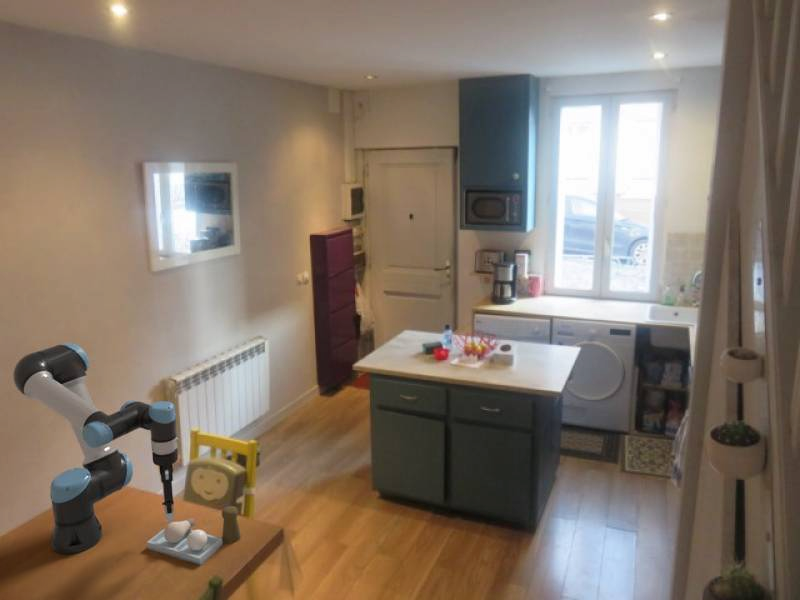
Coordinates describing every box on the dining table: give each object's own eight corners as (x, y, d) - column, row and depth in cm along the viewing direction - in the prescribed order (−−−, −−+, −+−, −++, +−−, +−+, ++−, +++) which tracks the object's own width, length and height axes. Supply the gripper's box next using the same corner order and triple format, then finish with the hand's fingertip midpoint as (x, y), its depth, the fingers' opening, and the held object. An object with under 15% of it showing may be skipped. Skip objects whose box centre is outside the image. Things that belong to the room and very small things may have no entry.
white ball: (183, 552, 199) (181, 534, 198) (196, 540, 205) (195, 523, 203) (199, 557, 197) (197, 539, 195) (212, 545, 202) (211, 528, 201)
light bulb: (188, 508, 210) (160, 523, 201) (201, 518, 207) (173, 534, 198) (186, 523, 212) (158, 539, 203) (199, 533, 209) (171, 550, 200)
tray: (147, 548, 202) (147, 541, 201) (171, 530, 212) (171, 523, 211) (200, 565, 194) (199, 558, 193) (222, 545, 204) (222, 538, 203)
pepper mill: (235, 544, 204) (233, 514, 202) (218, 542, 206) (216, 512, 203) (243, 533, 210) (242, 504, 208) (227, 531, 211) (225, 502, 209)
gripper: (180, 466, 187) (183, 528, 192) (174, 431, 209) (178, 487, 214) (153, 470, 184) (157, 533, 189) (151, 434, 206) (155, 491, 212)
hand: (168, 509), depth 202 cm, fingers open, 13 cm apart
